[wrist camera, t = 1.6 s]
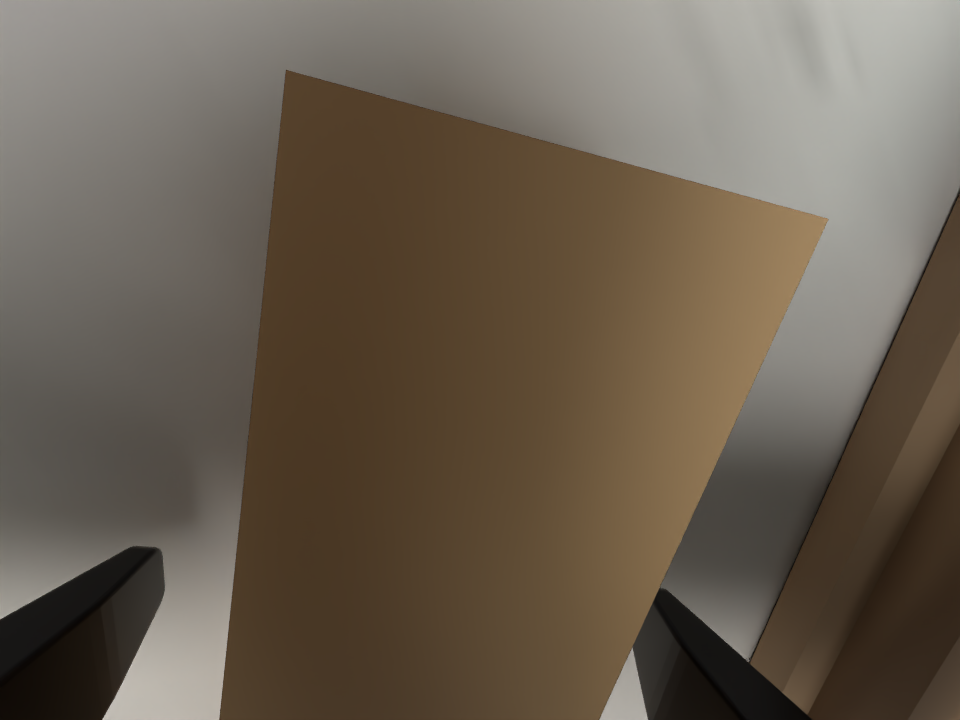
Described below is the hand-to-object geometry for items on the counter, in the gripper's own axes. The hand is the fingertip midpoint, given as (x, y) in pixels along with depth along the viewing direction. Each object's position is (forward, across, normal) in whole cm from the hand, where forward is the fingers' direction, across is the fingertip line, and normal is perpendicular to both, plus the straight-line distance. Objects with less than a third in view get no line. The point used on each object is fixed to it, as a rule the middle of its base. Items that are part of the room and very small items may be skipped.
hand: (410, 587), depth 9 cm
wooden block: (+2, 0, 0) cm, 2 cm away
